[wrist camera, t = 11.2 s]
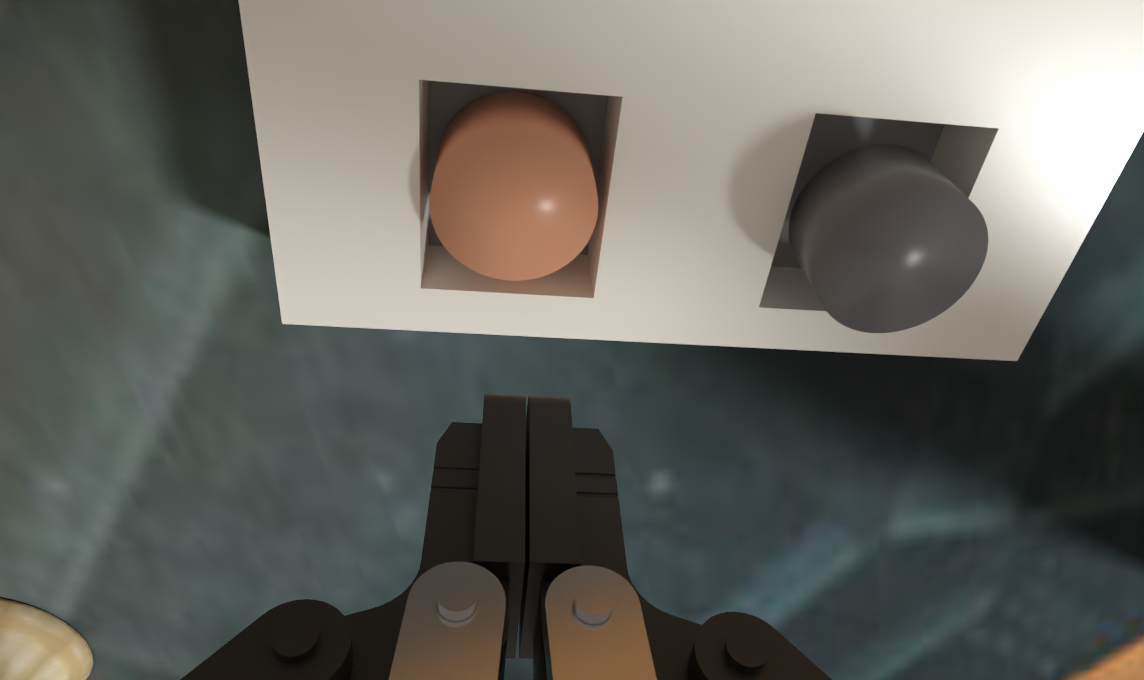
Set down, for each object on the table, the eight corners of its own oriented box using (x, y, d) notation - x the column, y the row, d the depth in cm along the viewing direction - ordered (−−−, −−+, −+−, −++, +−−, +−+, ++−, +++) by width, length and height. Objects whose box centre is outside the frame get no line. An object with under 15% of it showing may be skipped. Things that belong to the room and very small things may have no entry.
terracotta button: (599, 98, 22) (608, 135, 20) (582, 239, 24) (588, 285, 22) (437, 85, 21) (429, 121, 19) (436, 230, 24) (429, 275, 22)
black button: (968, 150, 22) (1017, 192, 19) (911, 286, 24) (948, 337, 22) (813, 137, 21) (846, 179, 19) (771, 278, 24) (796, 328, 22)
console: (1267, -362, 18) (1428, -386, 15) (961, 293, 29) (1017, 361, 26) (229, -530, 16) (156, -602, 13) (310, 254, 26) (282, 323, 23)
